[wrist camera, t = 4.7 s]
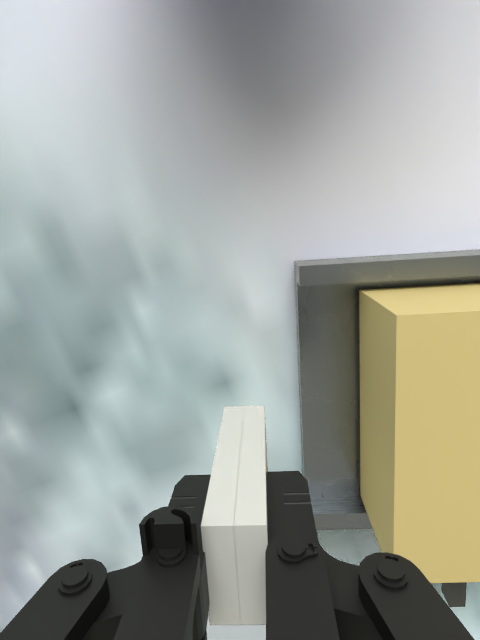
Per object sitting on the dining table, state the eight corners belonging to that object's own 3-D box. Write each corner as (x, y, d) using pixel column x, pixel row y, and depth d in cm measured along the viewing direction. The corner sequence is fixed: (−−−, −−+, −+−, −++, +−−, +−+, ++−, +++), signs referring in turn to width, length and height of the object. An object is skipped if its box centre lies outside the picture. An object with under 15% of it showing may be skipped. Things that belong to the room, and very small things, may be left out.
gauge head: (360, 545, 21) (392, 646, 16) (359, 289, 18) (396, 315, 13) (517, 541, 20) (599, 643, 15) (539, 279, 18) (648, 301, 13)
